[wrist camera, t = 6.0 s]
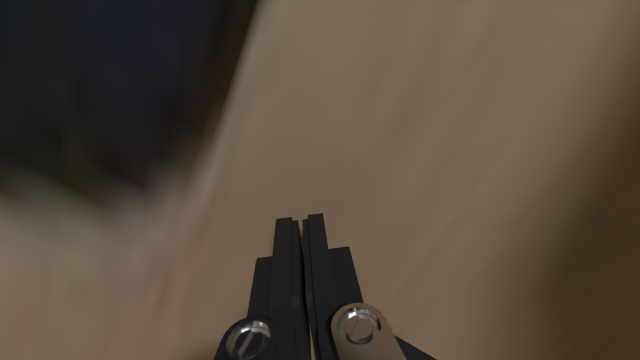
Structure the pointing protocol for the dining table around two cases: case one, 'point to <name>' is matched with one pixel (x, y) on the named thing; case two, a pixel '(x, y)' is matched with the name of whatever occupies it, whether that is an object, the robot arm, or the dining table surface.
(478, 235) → the dining table surface
